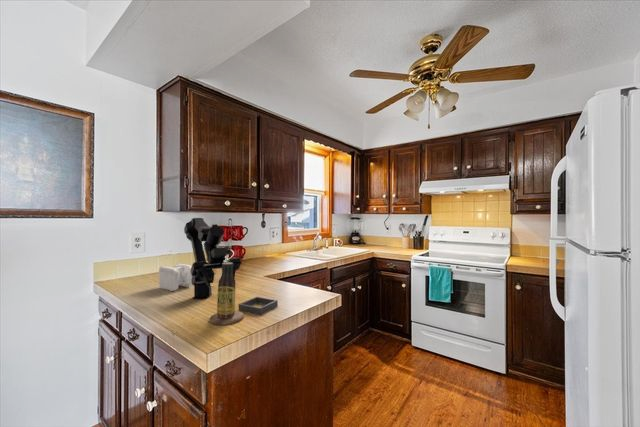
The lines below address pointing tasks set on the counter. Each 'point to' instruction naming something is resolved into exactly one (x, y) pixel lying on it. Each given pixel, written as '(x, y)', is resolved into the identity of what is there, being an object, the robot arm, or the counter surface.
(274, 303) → the dark grey square tray
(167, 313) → the counter surface
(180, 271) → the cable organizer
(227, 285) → the sauce bottle
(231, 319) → the coaster
